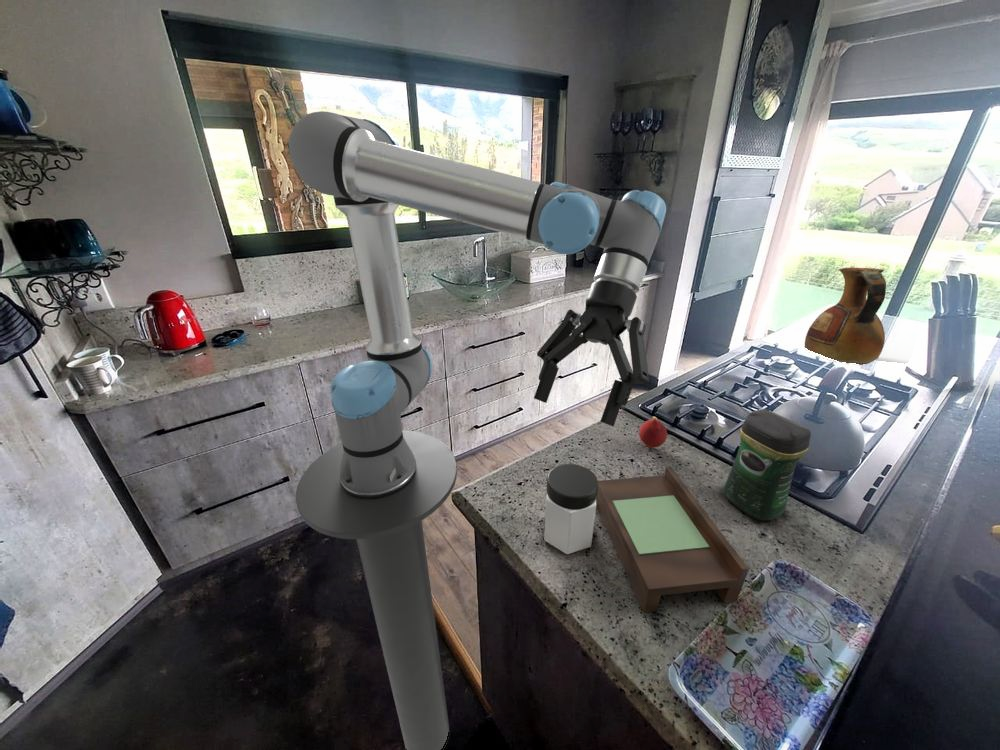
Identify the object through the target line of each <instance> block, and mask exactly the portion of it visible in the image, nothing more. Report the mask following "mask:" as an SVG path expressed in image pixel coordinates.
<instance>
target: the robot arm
mask: <svg viewBox="0 0 1000 750" xmlns="http://www.w3.org/2000/svg"><path fill="white" fill-rule="evenodd" d="M288 140H289V141H288V152H289V157H290V161H291V163H292V166H293V168H294V170H295V172H296V173H297V175H298V176H299V178H300V179H301V180H302V181H303V182H304V184H306V186H308V187H310V188H311V189H313V190H314V191H316V192H318V193H320V194H323V195H327V196H333V201H334V206H335V208H336V209H337V210H338V211H340V212H341V213H342V214H344V216H345V217H346V220H347V225H348V230H349V236H350V241H351V246H352V250H353V255H354V260H355V264H356V265H355V266H356V270H357V275H358V279H359V285H360V289H361V294H362V295H361V296H362V299H363V304H364V309H365V314H366V320H367V325H368V329H369V333H370V340H369V341H368V342H367V343H366V345H365V351H366V357H367V360H363V361H360V362H356V364H354V365H353V364H350V365H348V366H346V367H344V368H343V369H341V371H339V372H338V373H337V374H335V376H334V377H333V379H332V382H331V384H330V393H331V405H332V408H333V411H334V415H335V420H336V425H337V427H338V432H339V436H340V441H341V443H342V445H343V456H342V462H341V468H340V481H341V485H342V488H343V489H344V491H345V492H346V493H348V494H349V495H351V496H353V497H356V498H361V499H377V498H382V497H386V496H389V495H392V494H394V493H396V492H398V491H400V490H401V489H403V488H404V487H406V486H407V485H408V484H409V483H410V482H411V481H412V479H413V478H414V476H415V474H416V469H417V468H416V460H415V457H414V455H413V453H412V451H411V449H410V448H409V446H408V444H407V442H406V441H405V439H404V437H403V432H402V430H403V425H402V418H401V417H402V413H403V412H404V411H405V410H406V409H407V408H408V407H409V405H410V404H411V403H412V402H413V401H414V400H415V399H416V397H418V395H419V394H420V393H422V391H423V390H424V389H425V388H426V387H427V386H428V383H429V381H430V379H431V377H432V375H433V370H434V363H433V359H432V356H431V354H430V352H429V351H428V350H427V349H425V347H424V345H423V344H422V339H421V337H420V336H419V335H417V334H416V333H414V331H413V326H412V325H413V324H412V319H411V315H410V314H411V313H410V306H409V301H408V300H409V299H408V293H407V287H406V281H405V275H404V268H403V262H402V256H401V250H400V249H401V248H400V243H399V236H398V230H397V224H396V218H395V213H396V211H397V209H398V208H399V206H401V207H404V208H408V209H412V210H416V211H421V212H424V213H428V214H430V215H431V214H432V215H435V216H438V217H443V218H447V219H449V220H454V221H458V222H462V223H465V224H469V225H473V226H476V227H481V228H484V229H486V230H487V229H488V230H492V231H494V232H495V231H496V232H499V233H502V234H506V235H511V236H514V237H518V238H522V239H526V240H529V241H532V242H534V243H537V244H541V245H545V246H546V247H547V248H548V249H550V250H551V251H552V252H554V253H556V254H560V255H574V254H576V253H579V252H581V251H582V250H584V249H586V248H587V247H588V246H589V245H592V246H594V247H598V248H602V249H603V252H602V255H601V257H600V260H599V262H598V265H597V268H596V270H595V273H594V276H593V281H594V282H592V283H591V284H590V288H589V290H588V293H587V296H586V299H585V308H584V310H583V312H582V313H578V312H576V311H574V310H573V309H569V310H567V311H566V314H565V316H564V318H563V319H562V321H561V323H559V325H558V326H557V327H556V329H555V330H554V331H553V333H552V334H550V336H549V337H548V338H547V340H546V341H545V342H544V343H543V344H542V345H541V347H540V348H539V350H538V351H536V356H537V357H539V358H540V359H541V360H542V362H543V363H542V366H541V369H540V372H539V375H538V380H539V382H538V385H537V388H536V390H535V394H534V397H533V399H534V400H537V401H539V402H542V403H546V404H547V402H548V400H549V397H550V394H551V391H552V388H553V385H554V383H555V380H556V377H557V374H558V373H559V369H560V368H559V366H558V364H559V363H560V362H561V361H563V360H564V359H565V358H567V357H568V356H569V355H570V354H571V353H573V352H574V351H575V350H577V349H579V347H580V346H582V345H583V344H584V345H585V344H587V343H588V342H590V343H594V344H598V343H599V344H601V345H604V346H608V347H609V350H610V353H611V355H612V359H613V361H614V364H615V367H616V369H617V371H618V375H619V376H620V377H618V380H617V379H614V381H613V384H612V387H611V390H610V393H609V395H608V398H607V401H606V404H605V407H604V410H603V413H602V415H601V418H600V423H603V424H606V425H608V426H611V427H615V424H616V421H617V418H618V415H619V412H620V409H621V407H622V406H624V407H625V406H627V404H628V402H629V399H630V396H631V394H632V390H633V388H634V386H635V385H647V384H648V383H649V382H650V377H649V371H648V370H649V369H648V363H647V362H648V361H647V354H646V346H645V339H644V338H645V332H646V327H647V324H646V323H645V322H644V321H642V319H640V318H639V317H638V316H634V317H633V318H632V319H629V317H630V316H631V315H632V312H633V310H634V307H635V304H636V301H637V300H638V299H637V298H638V296H637V294H638V293H639V292H640V289H641V286H642V285H643V282H644V278H645V275H646V273H647V270H648V267H649V263H650V260H651V258H652V255H653V253H654V251H655V248H656V245H657V242H658V239H659V237H660V234H661V233H662V228H663V225H664V220H665V217H666V213H667V204H666V203H665V200H664V199H663V198H662V197H661V196H660V195H658V194H657V193H654V192H652V191H649V190H647V189H644V190H643V191H642V190H638V189H633V190H630V191H628V192H627V193H626V194H624V195H623V197H622V199H621V200H618V199H617V200H616V199H613V198H610V197H606V196H603V195H601V194H597V193H596V192H595V193H594V192H591V191H588V190H586V189H583V188H580V187H577V186H574V185H573V184H569V183H562V182H558V181H554V182H552V183H550V184H546V183H543V182H540V181H535V180H531V179H527V178H525V177H524V178H523V177H520V176H517V175H516V176H515V175H512V174H508V173H505V172H500V171H495V170H493V169H488V168H484V167H481V166H476V165H473V164H470V163H465V162H462V161H458V160H454V159H449V158H445V157H442V156H438V155H434V154H430V153H427V152H422V151H418V150H415V149H410V148H406V147H402V146H401V145H400V143H399V141H398V140H397V138H396V137H395V136H394V135H393V134H392V133H391V132H390V131H389V130H388V129H386V128H385V127H384V126H382V125H379V124H378V123H376V122H374V121H372V120H369V119H367V118H358V117H353V116H347V115H342V114H339V113H335V112H331V111H325V110H324V111H323V110H321V111H314V112H310V113H308V114H306V115H304V116H302V117H301V118H300V119H299V120H297V121H296V123H295V124H294V126H293V128H292V130H291V132H290V135H289V139H288ZM626 330H627V332H628V339H629V349H630V357H631V359H630V360H631V363H630V362H629V358H628V355H627V353H626V350H625V348H624V343H623V340H622V338H621V335H622V334H623V333H624V332H625V331H626ZM631 365H632V367H631Z"/></svg>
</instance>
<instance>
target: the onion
mask: <svg viewBox="0 0 1000 750" xmlns="http://www.w3.org/2000/svg"><path fill="white" fill-rule="evenodd" d="M638 436H639V438H640V441H641V442H642V443H643V444H644V445H645V446H646V447H647V448H649V449H654V448H658V447H660V446H662V445H664V443H666V440H667V439H668V438H667V437H668V431H667V428H666V426H665V425H664V424H663V422H661V420H659V419H658V418H657V417H656V416H652V418H650V419H648V420H645V421H644V422H643V423H642V424H641V426H640V427H639V431H638Z"/></svg>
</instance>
